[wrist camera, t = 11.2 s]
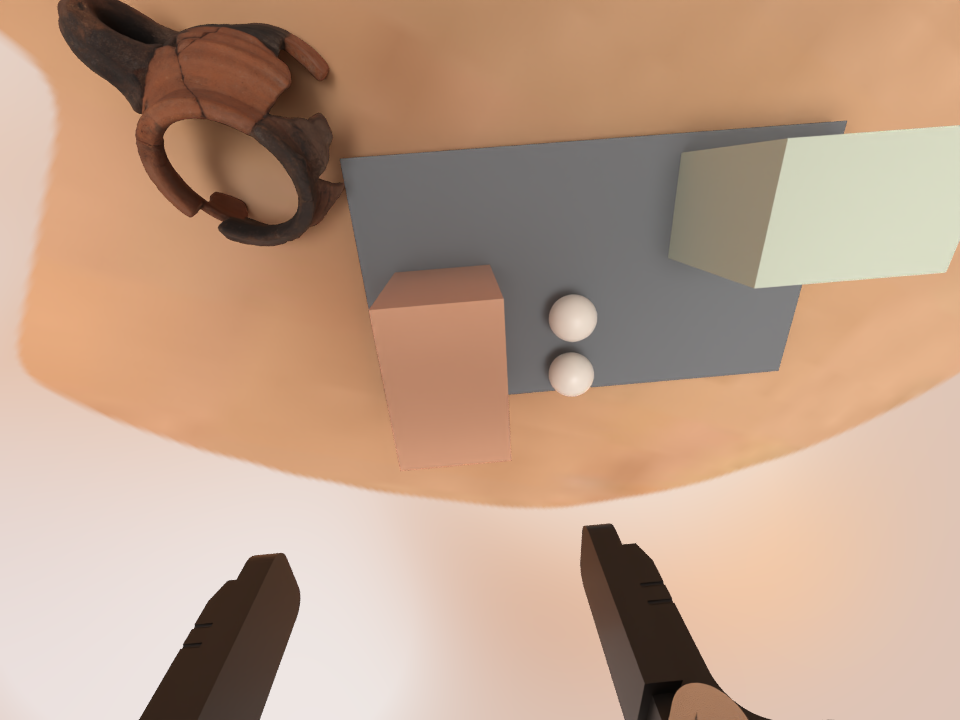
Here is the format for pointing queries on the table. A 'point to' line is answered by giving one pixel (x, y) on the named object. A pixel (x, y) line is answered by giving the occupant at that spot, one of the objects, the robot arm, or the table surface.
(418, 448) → the upright salmon pillar
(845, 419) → the table surface
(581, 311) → the marble
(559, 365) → the marble
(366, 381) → the table surface
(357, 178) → the slate mat
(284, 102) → the table surface
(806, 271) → the pale green cuboid
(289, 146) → the brown sculpted ring
